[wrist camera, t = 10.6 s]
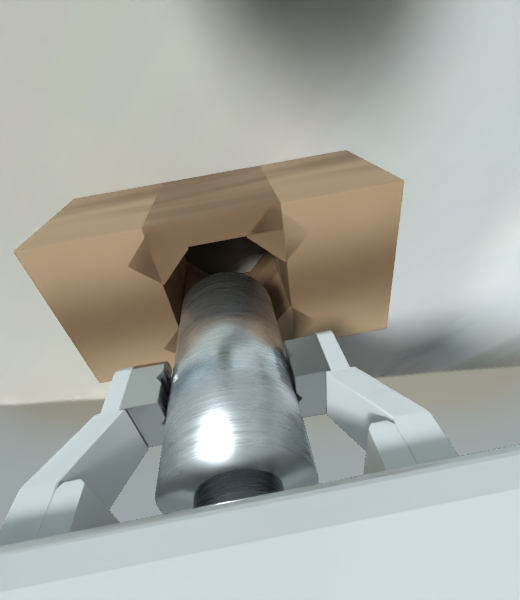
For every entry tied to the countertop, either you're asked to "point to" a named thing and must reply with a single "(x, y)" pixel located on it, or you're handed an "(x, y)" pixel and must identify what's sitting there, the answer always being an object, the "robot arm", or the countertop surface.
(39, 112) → the countertop surface
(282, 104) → the countertop surface
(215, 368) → the cylinder
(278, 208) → the socket block
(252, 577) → the robot arm
